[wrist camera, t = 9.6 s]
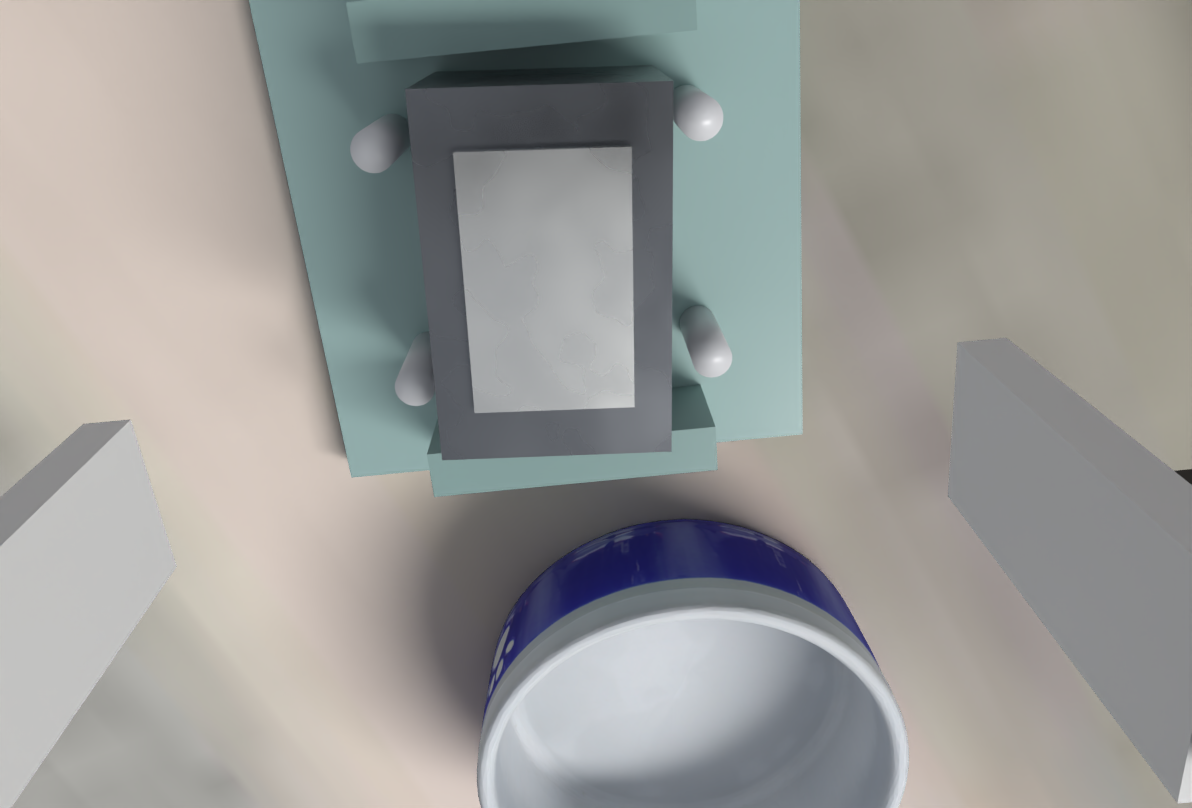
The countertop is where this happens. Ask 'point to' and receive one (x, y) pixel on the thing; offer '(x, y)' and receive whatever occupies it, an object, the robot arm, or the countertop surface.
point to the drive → (547, 257)
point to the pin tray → (700, 209)
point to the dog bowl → (687, 682)
